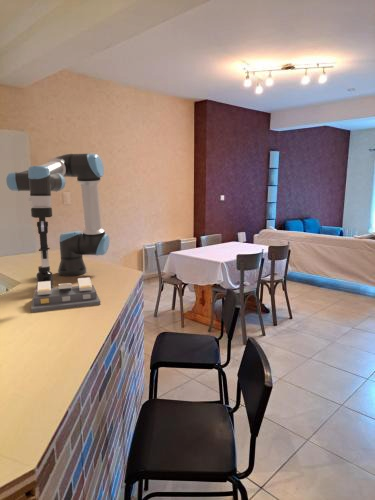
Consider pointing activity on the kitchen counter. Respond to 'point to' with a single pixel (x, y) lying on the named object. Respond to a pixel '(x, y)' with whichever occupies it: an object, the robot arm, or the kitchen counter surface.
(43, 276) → the supplement bottle
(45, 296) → the switch unit
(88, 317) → the kitchen counter surface
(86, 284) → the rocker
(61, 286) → the rocker
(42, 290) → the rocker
